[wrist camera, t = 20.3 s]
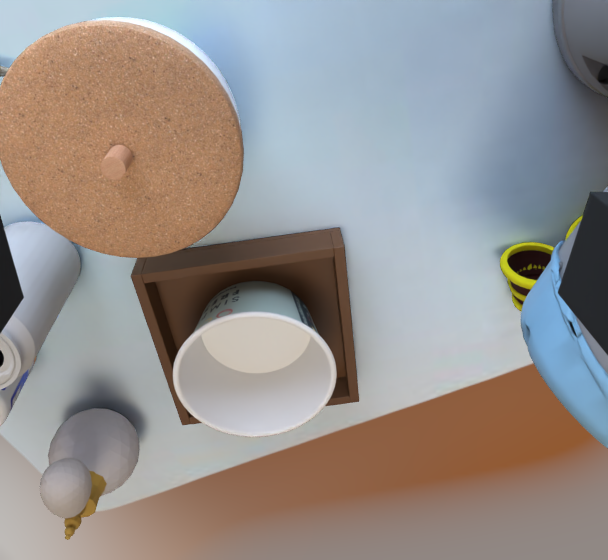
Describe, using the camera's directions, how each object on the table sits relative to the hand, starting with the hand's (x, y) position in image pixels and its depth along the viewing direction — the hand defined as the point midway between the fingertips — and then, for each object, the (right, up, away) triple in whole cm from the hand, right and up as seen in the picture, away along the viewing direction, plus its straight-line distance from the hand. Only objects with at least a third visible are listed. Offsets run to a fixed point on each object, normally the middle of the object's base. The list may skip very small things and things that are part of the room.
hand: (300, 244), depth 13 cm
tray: (-4, -4, +34) cm, 35 cm away
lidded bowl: (-10, +11, +24) cm, 28 cm away
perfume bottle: (-19, -13, +39) cm, 45 cm away
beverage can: (-20, +1, +30) cm, 36 cm away
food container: (-4, -5, +34) cm, 34 cm away
